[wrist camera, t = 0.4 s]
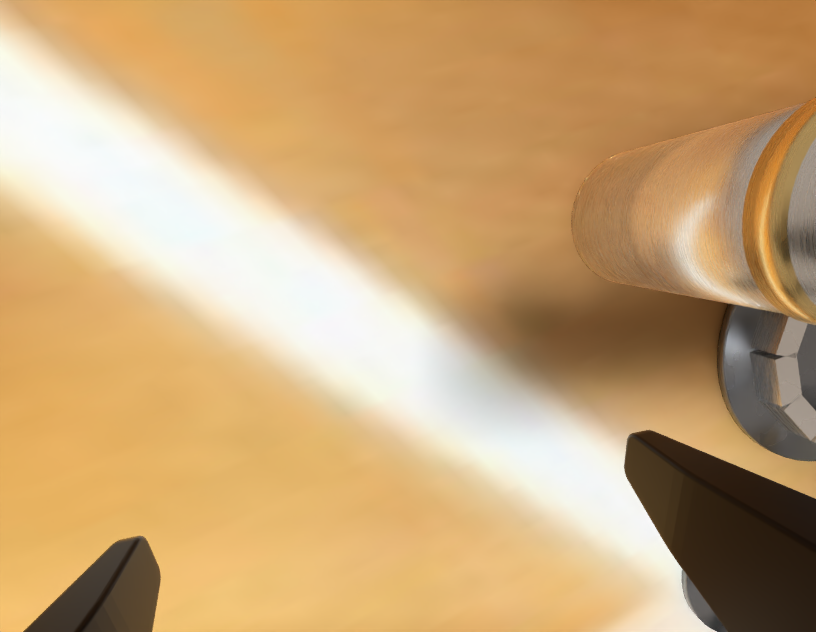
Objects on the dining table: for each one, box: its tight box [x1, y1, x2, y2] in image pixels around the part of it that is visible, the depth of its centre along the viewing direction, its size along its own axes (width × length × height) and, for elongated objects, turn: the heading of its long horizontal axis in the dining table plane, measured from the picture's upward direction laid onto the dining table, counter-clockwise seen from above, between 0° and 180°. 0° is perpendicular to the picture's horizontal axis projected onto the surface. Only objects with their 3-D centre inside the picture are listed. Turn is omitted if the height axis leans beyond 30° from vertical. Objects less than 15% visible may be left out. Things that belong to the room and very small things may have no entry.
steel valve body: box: [571, 97, 816, 325], centre depth 17 cm, size 7×7×13 cm
